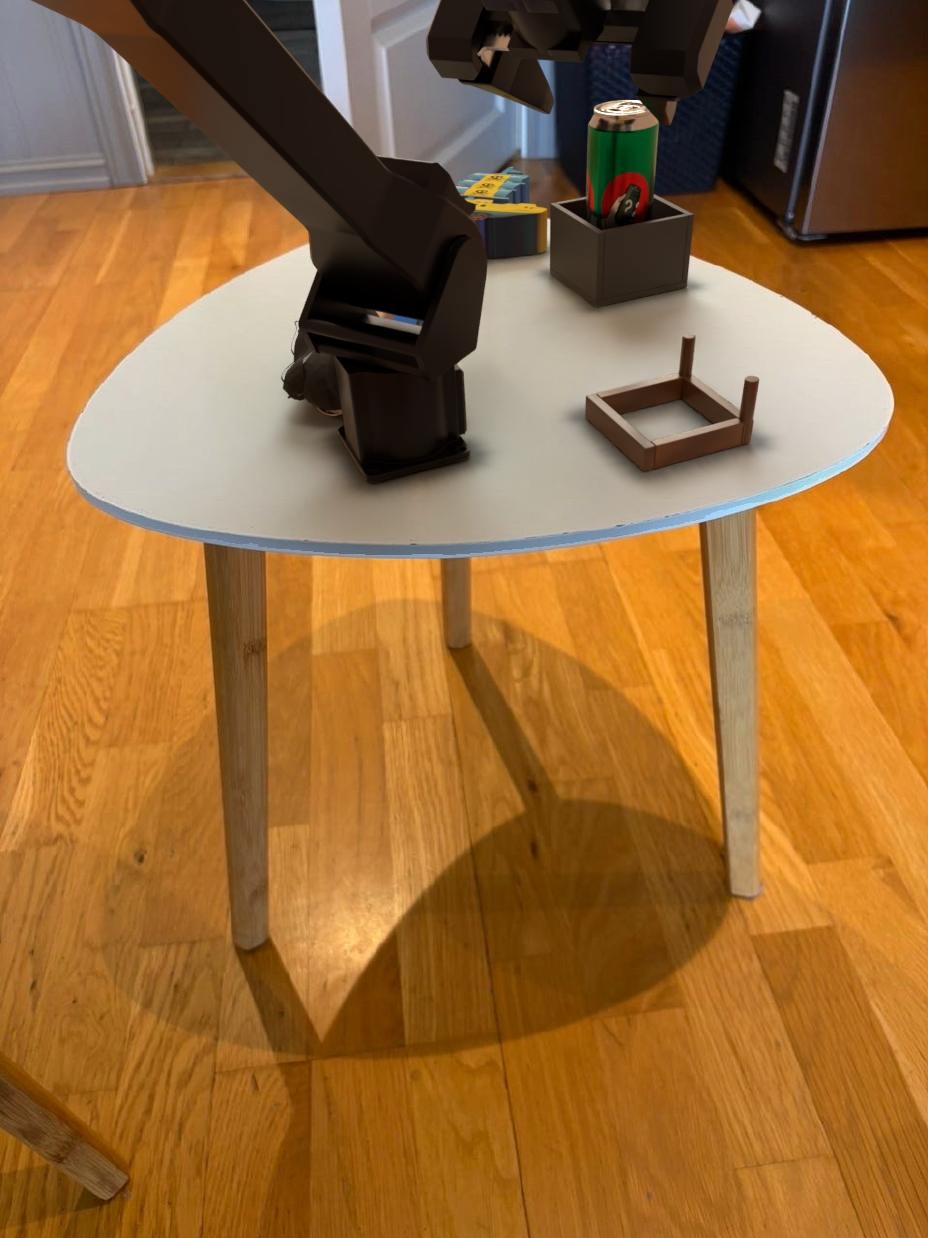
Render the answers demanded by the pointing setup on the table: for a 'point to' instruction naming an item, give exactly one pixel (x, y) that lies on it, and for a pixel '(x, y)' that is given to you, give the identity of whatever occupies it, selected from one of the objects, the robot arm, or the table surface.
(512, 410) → the table surface
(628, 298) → the open-top storage bin
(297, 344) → the toy figure
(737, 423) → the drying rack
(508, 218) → the toy
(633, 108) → the soda can
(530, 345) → the table surface
